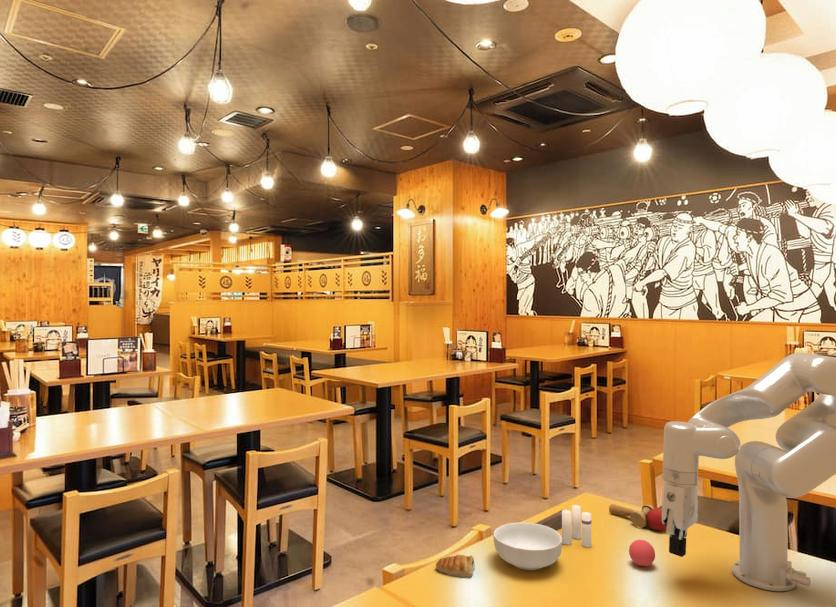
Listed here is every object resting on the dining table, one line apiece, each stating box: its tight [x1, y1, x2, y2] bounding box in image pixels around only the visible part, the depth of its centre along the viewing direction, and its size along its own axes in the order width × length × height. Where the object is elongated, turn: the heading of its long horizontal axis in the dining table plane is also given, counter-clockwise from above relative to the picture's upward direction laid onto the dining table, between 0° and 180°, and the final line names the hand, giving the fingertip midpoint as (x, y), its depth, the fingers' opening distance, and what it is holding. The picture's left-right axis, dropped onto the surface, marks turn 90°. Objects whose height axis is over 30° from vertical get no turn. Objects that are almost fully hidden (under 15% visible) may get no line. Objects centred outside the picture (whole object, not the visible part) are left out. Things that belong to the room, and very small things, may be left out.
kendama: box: [608, 503, 667, 532], centre depth 159 cm, size 8×6×18 cm
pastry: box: [435, 553, 476, 578], centre depth 132 cm, size 9×7×4 cm
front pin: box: [581, 511, 592, 548], centre depth 145 cm, size 2×2×8 cm
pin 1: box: [561, 509, 572, 546], centre depth 147 cm, size 2×2×8 cm
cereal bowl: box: [493, 521, 563, 571], centre depth 136 cm, size 17×17×7 cm
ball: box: [628, 539, 656, 567], centre depth 134 cm, size 6×6×6 cm
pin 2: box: [571, 504, 582, 540], centre depth 150 cm, size 2×2×8 cm
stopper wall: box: [535, 509, 563, 532], centre depth 153 cm, size 2×16×4 cm, turn 133°
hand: (677, 553), depth 127 cm, fingers closed
